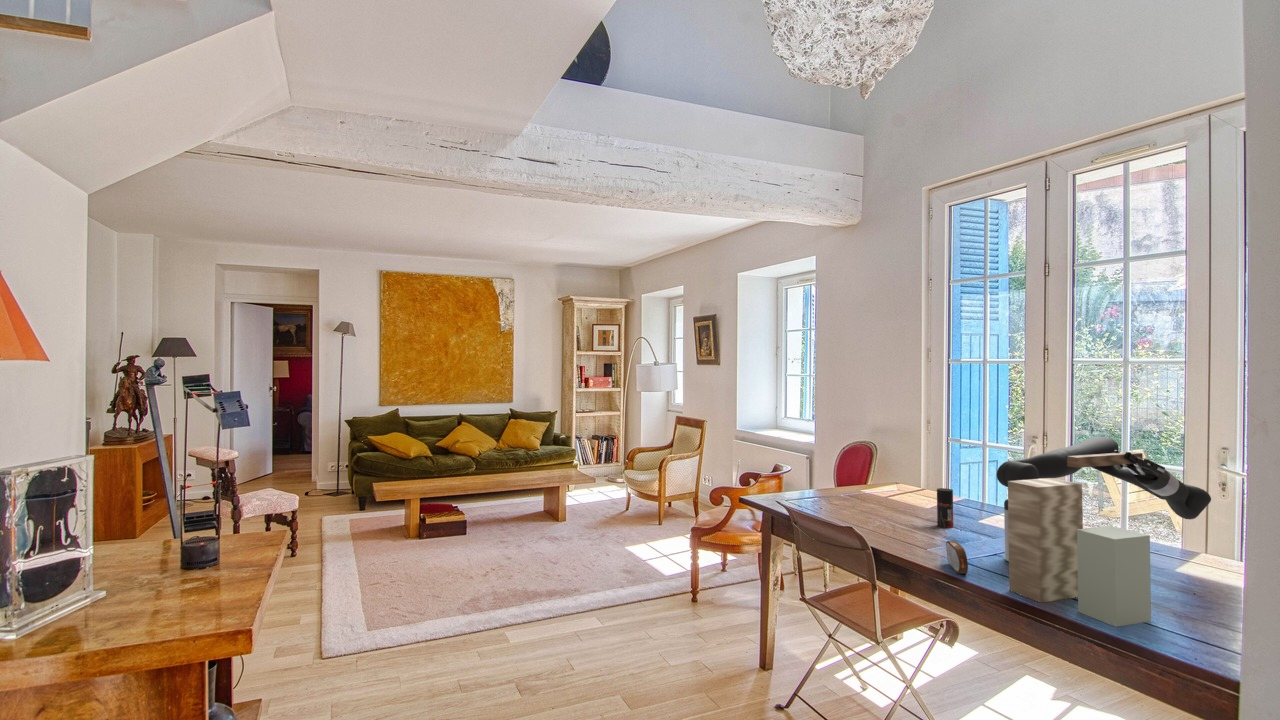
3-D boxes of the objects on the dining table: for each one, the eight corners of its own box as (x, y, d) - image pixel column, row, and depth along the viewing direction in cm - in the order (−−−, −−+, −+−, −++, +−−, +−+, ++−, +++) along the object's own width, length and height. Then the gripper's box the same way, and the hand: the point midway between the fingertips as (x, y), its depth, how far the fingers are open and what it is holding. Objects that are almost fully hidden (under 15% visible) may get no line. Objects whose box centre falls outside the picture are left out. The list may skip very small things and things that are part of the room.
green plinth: (1112, 606, 169) (1110, 525, 169) (1151, 621, 160) (1149, 535, 160) (1078, 611, 166) (1077, 529, 166) (1116, 626, 156) (1114, 539, 157)
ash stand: (1051, 584, 187) (1050, 477, 187) (1083, 596, 177) (1082, 483, 177) (1009, 590, 182) (1007, 481, 183) (1039, 602, 173) (1038, 487, 173)
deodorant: (947, 528, 251) (946, 491, 251) (934, 525, 256) (933, 489, 256) (956, 527, 253) (956, 490, 253) (943, 523, 259) (943, 487, 259)
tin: (969, 577, 193) (968, 550, 194) (958, 577, 194) (957, 550, 194) (954, 562, 208) (954, 537, 208) (944, 562, 209) (944, 537, 209)
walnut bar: (1132, 461, 191) (1132, 451, 191) (1142, 463, 188) (1142, 453, 188) (1067, 466, 184) (1067, 456, 184) (1076, 467, 181) (1076, 457, 181)
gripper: (1137, 465, 199) (1101, 440, 195) (1186, 472, 186) (1149, 445, 182) (1129, 486, 198) (1093, 461, 194) (1177, 494, 185) (1140, 468, 181)
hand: (1120, 453), depth 188 cm, fingers closed on walnut bar, 3 cm apart
